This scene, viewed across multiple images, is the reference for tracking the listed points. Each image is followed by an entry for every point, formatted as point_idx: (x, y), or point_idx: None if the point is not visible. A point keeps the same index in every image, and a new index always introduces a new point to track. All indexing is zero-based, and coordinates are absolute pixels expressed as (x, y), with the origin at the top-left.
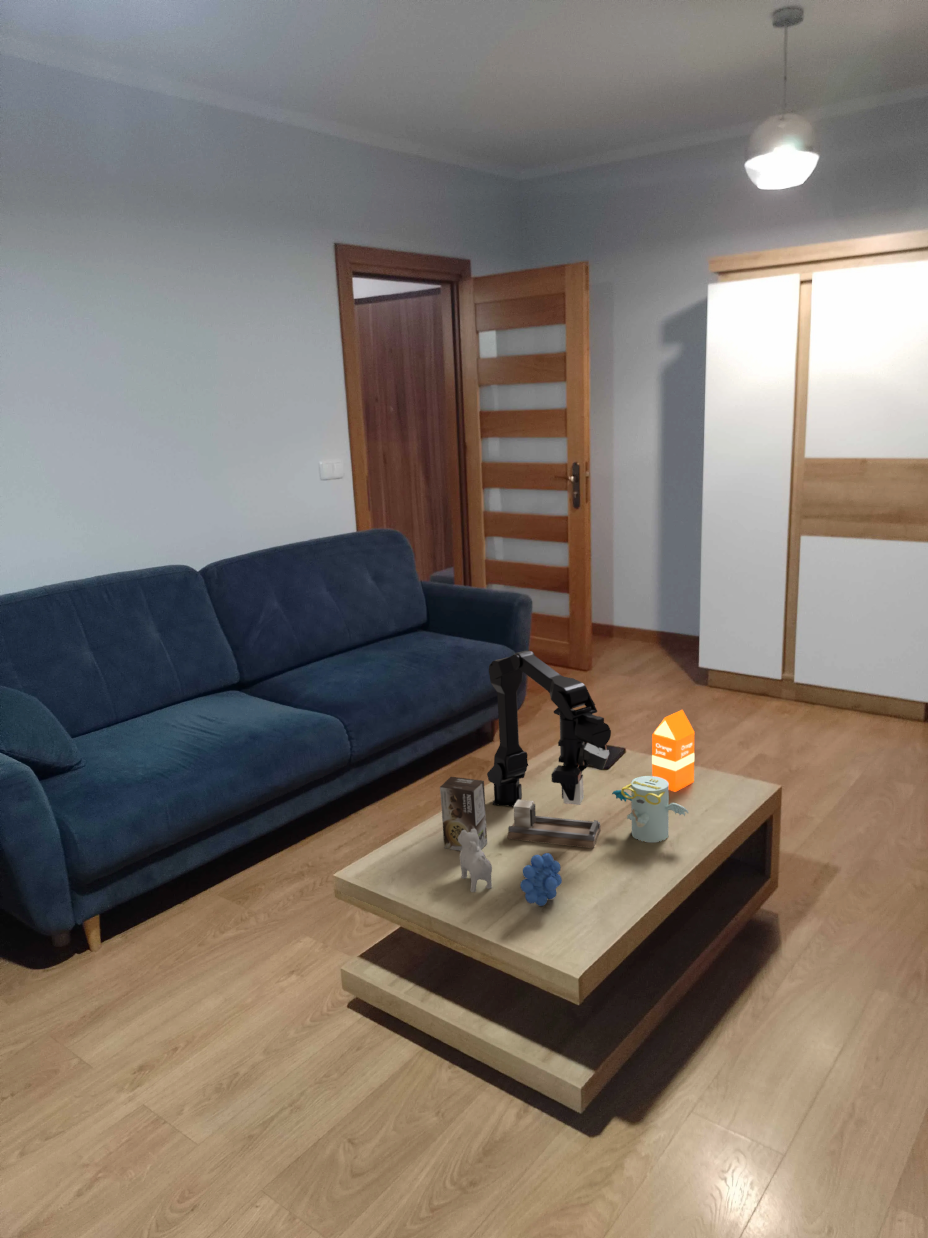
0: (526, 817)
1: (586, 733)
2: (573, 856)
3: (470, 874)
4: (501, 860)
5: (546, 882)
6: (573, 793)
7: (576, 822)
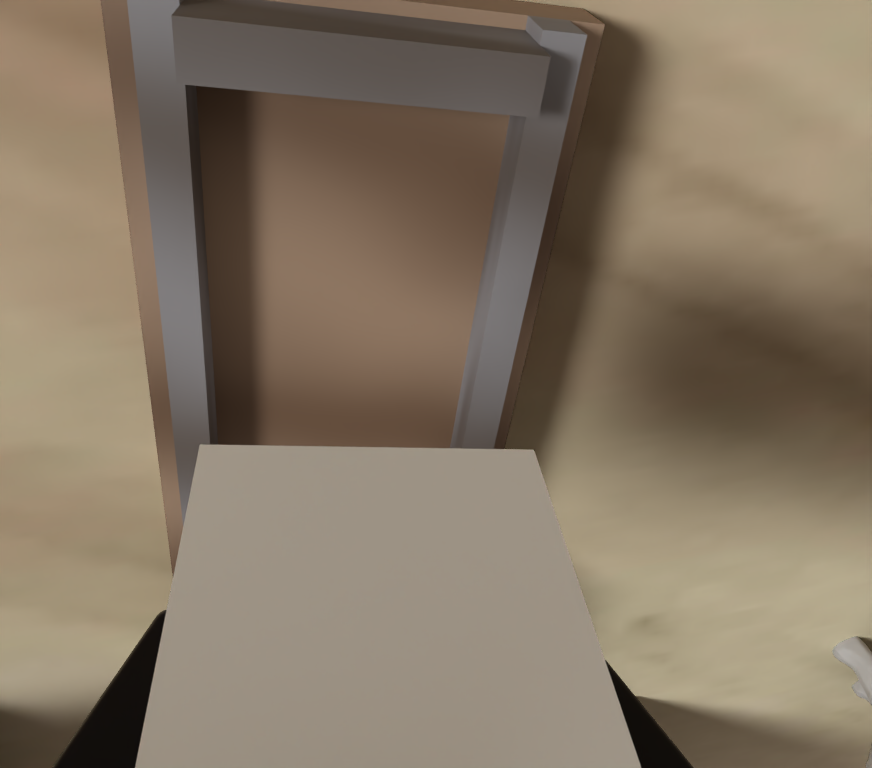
0: None
1: None
2: (732, 201)
3: None
4: (722, 602)
5: None
6: (675, 761)
7: (200, 290)
